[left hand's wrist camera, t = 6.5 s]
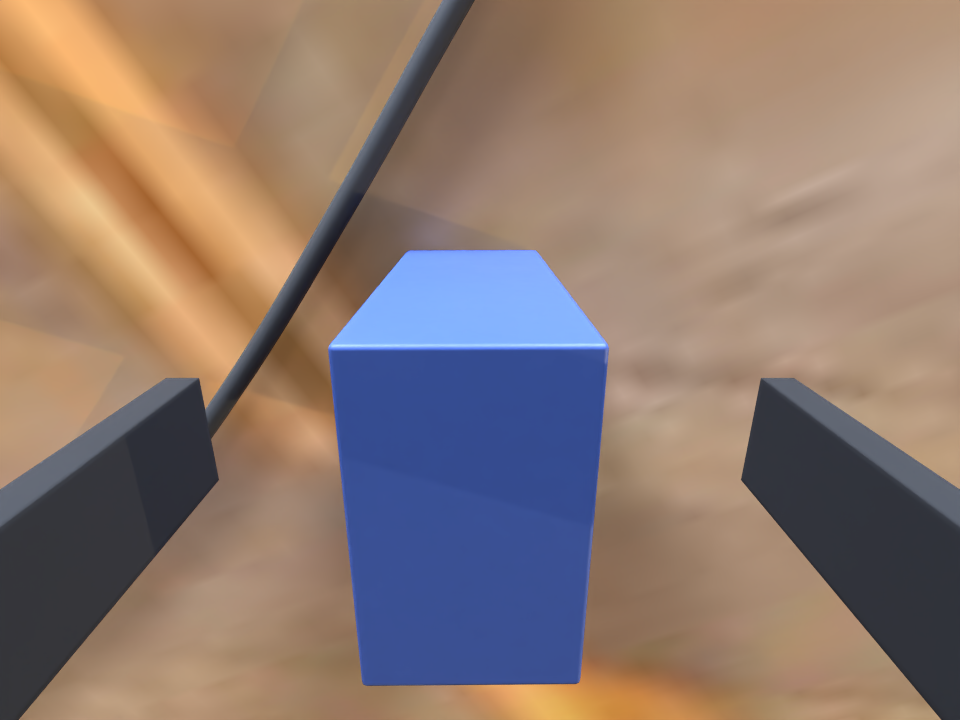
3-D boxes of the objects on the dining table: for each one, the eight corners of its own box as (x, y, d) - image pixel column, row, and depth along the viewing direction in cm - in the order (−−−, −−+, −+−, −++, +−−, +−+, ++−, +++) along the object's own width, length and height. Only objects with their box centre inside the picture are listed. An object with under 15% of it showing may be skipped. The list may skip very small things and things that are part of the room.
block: (415, 440, 20) (361, 688, 10) (406, 250, 17) (325, 345, 8) (530, 440, 20) (580, 686, 10) (537, 249, 17) (611, 343, 8)
